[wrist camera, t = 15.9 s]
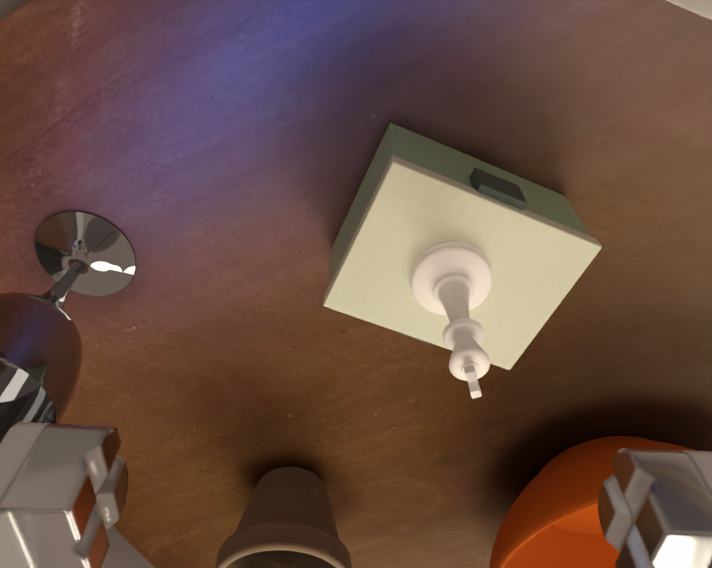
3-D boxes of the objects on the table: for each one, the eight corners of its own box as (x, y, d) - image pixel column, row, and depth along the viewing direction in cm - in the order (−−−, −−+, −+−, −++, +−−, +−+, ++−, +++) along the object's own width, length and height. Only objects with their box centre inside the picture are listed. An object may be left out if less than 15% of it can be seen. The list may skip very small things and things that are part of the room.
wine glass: (155, 234, 43) (71, 380, 31) (125, 314, 47) (40, 472, 35) (41, 187, 42) (-98, 322, 29) (19, 274, 46) (-110, 427, 33)
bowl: (759, 362, 50) (839, 461, 41) (738, 543, 63) (795, 645, 55) (450, 418, 53) (466, 519, 45) (492, 577, 67) (511, 677, 59)
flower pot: (377, 476, 58) (380, 578, 49) (315, 537, 63) (308, 638, 55) (269, 428, 54) (252, 530, 46) (213, 497, 60) (189, 599, 51)
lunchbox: (325, 254, 44) (319, 312, 38) (391, 110, 38) (396, 153, 33) (488, 313, 47) (506, 376, 41) (573, 188, 41) (608, 240, 35)
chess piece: (481, 231, 35) (518, 342, 27) (499, 298, 38) (537, 418, 29) (399, 254, 36) (409, 369, 28) (421, 318, 39) (437, 440, 30)
